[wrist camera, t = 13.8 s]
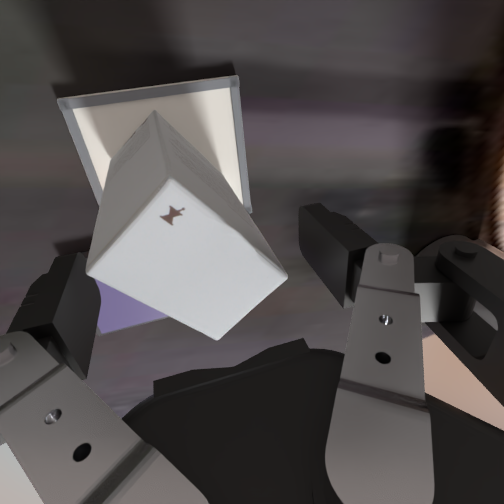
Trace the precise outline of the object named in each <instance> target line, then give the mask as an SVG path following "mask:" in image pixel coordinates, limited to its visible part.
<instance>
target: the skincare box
mask: <svg viewBox="0 0 504 504" xmlns="http://www.w3.org/2000/svg"><path fill="white" fill-rule="evenodd" d="M85 270H86V274H87V275H88V276H90V277H92V278H95V279H97V280H99V281H101V282H103V283H104V284H106V285H108V286H110V287H112V288H114V289H116V290H118V291H120V292H122V293H124V294H126V295H128V296H130V297H132V298H134V299H136V300H138V301H140V302H142V303H144V304H146V305H148V306H150V307H152V308H154V309H156V310H158V311H160V312H162V313H164V314H166V315H168V316H170V317H172V318H174V319H176V320H178V321H180V322H182V323H184V324H186V325H188V326H190V327H192V328H194V329H196V330H198V331H200V332H202V333H203V334H205V335H207V336H209V337H211V338H213V339H214V340H219V339H220V338H221V337H222V336H223V335H224V334H225V333H227V332H228V331H229V330H230V329H231V328H232V327H233V326H234V325H235V324H236V323H238V322H239V321H240V320H241V319H242V318H243V317H244V316H245V315H246V314H247V313H249V312H250V311H251V310H252V309H253V308H254V307H255V306H256V305H257V304H259V303H260V302H261V301H262V300H263V299H264V298H265V297H267V296H268V295H269V294H270V293H271V292H272V291H274V290H275V289H276V288H277V287H278V286H279V285H281V284H282V283H283V282H284V281H285V280H287V278H288V275H287V273H286V271H285V270H284V268H283V267H282V265H281V264H280V262H279V260H278V259H277V257H276V256H275V254H274V253H273V251H272V250H271V248H270V246H269V245H268V243H267V242H266V240H265V239H264V237H263V235H262V234H261V232H260V231H259V229H258V228H257V226H256V225H255V223H254V222H253V220H252V219H251V217H250V216H249V214H248V212H247V211H246V209H245V208H244V206H243V205H242V203H241V202H240V200H239V199H238V197H237V196H236V194H235V193H234V191H233V190H232V188H231V186H230V185H229V183H228V182H227V180H226V179H225V177H224V176H223V174H222V173H221V172H220V171H219V170H218V169H217V168H216V167H215V166H213V165H212V164H211V163H210V162H209V161H208V160H207V159H206V158H205V157H204V156H203V155H202V154H201V153H200V152H199V151H198V150H197V149H196V148H195V147H194V146H193V145H192V144H191V143H189V142H188V141H187V140H186V139H185V138H184V137H183V136H182V135H181V134H180V133H179V132H178V131H177V130H176V129H175V128H174V127H173V126H172V125H171V124H169V123H168V122H167V121H166V120H165V119H164V118H163V117H162V116H161V115H160V114H159V113H158V112H157V111H156V110H153V111H152V112H151V114H150V115H149V116H148V117H147V118H146V119H145V121H144V122H143V123H142V124H141V125H140V126H139V127H138V128H137V129H136V131H135V132H134V133H133V134H132V135H131V137H130V138H129V139H128V140H127V141H126V143H125V144H124V145H123V146H122V147H121V148H120V150H119V151H118V152H117V153H116V154H115V155H114V156H113V158H112V159H111V160H110V164H109V169H108V172H107V177H106V181H105V186H104V190H103V194H102V199H101V203H100V207H99V212H98V216H97V220H96V224H95V229H94V233H93V238H92V243H91V247H90V251H89V255H88V259H87V263H86V269H85Z"/></svg>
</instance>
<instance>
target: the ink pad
mask: <svg viewBox="0 0 504 504" xmlns="http://www.w3.org/2000/svg"><path fill="white" fill-rule="evenodd" d="M81 253H82V254H83V255H84V257H85V259H86V261H87V259H88V255H89V251H86V252H81ZM94 279H95V278H94ZM95 281H96V283H97V285H98V288H99V290H100V294H101V307H100V312H99V318H98V323H97V328H96V334H97V335H98V336H101V335H105V334H108V333H112V332H116V331H120V330H123V329H127V328H131V327H135V326H138V325H142V324H146V323H149V322H153V321H157V320H161V319H164V318H168V317H170V316H168V315H166V314H164V313H162V312H160V311H158V310H156V309H154V308H152V307H150V306H148V305H146V304H144V303H142V302H140V301H138V300H136V299H134V298H132V297H130V296H128V295H126V294H124V293H122V292H120V291H118V290H116V289H114V288H112V287H110V286H108V285H106V284H104V283H103V282H101V281H99V280H97V279H95Z"/></svg>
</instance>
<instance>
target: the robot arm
mask: <svg viewBox="0 0 504 504" xmlns="http://www.w3.org/2000/svg"><path fill="white" fill-rule="evenodd" d="M299 246H300V250H301V253H302V255H303V256H304V258H305V259H306V260H307V262H308V263H309V264H310V266H311V267H312V268H313V270H314V271H315V272H316V273H317V275H318V276H319V277H320V279H321V280H322V281H323V283H324V284H325V285H326V286H327V288H328V289H329V290H330V292H331V293H332V294H333V296H334V297H335V298H336V299H337V301H338V302H339V303H340V305H341V306H342V307H343V309H345V308H348V307H352V306H354V308H353V314H352V319H351V324H350V329H349V335H348V340H347V345H346V350H345V354H343V353H340V352H336V351H332V350H326V349H309V347H308V346H307V344H306V342H305V340H304V338H302V339H298V340H295V341H291V342H288V343H284V344H281V345H277V346H274V347H270V348H268V349H266V350H264V351H262V352H260V353H259V354H257V355H255V356H253V357H251V358H249V359H248V360H246V361H244V362H242V363H240V364H239V365H236V366H234V367H227V368H212V369H197V370H190V371H187V372H183V373H180V374H176V375H173V376H169V377H166V378H162V379H159V380H155V381H153V383H154V394H153V395H151V396H150V397H148V398H146V399H145V400H143V401H142V402H140V403H139V404H138V405H136V406H135V407H134V408H133V409H131V410H130V411H129V412H128V413H127V414H126V415H125V416H124V417H123V418H122V419H121V418H120V417H119V416H118V415H117V414H116V413H115V412H114V411H113V410H112V409H111V408H110V407H108V406H107V405H106V404H105V403H104V402H103V401H102V400H101V399H100V398H99V397H98V396H97V395H96V394H95V393H94V392H93V391H92V390H91V389H90V388H89V387H88V386H87V385H86V384H85V383H84V382H83V381H82V380H84V379H87V374H88V369H89V364H90V359H91V354H92V348H93V343H94V338H95V333H96V328H97V323H98V318H99V312H100V307H101V294H100V290H99V288H98V285H97V283H96V281H95V279H94V278H92V277H90V276H88V275H87V274H86V270H85V269H86V263H87V261H86V259H85V257H84V255H83V254H82V253H81V252H78V253H73V254H68V255H63V256H58V257H56V258H55V259H54V261H53V264H52V266H51V268H50V270H49V272H48V273H47V274H42V275H41V276H40V277H39V278H38V279H37V280H36V281H35V282H34V283H33V284H32V285H31V286H30V288H29V290H28V292H27V294H26V298H24V300H23V302H22V304H21V307H20V308H19V310H18V311H17V313H16V315H15V317H14V319H13V321H12V323H11V325H10V327H9V329H8V331H7V333H6V334H4V335H2V336H0V445H2V444H4V443H7V444H8V446H9V448H10V449H11V451H12V452H13V454H14V456H15V457H16V459H17V460H18V462H19V464H20V465H21V467H22V469H23V470H24V472H25V473H26V475H27V477H28V478H29V480H30V482H31V483H32V485H33V486H34V488H35V490H36V491H37V493H38V494H39V496H40V498H41V499H42V501H43V503H44V504H504V431H503V430H501V429H499V428H497V427H495V426H493V425H491V424H489V423H487V422H485V421H482V420H480V419H478V418H476V417H474V416H472V415H470V414H468V413H466V412H464V411H462V410H460V409H458V408H456V407H454V406H452V405H450V404H448V403H445V402H443V401H441V400H439V399H437V398H435V397H433V396H431V395H429V394H427V393H425V389H424V368H423V349H422V348H423V347H422V327H421V322H425V323H426V324H427V325H428V327H429V328H430V329H431V330H432V331H433V332H434V333H435V334H436V335H437V336H438V337H439V338H440V339H441V340H442V341H443V343H444V344H445V345H446V346H447V347H448V348H449V349H450V350H451V351H452V352H453V353H454V354H455V355H456V356H457V357H458V358H459V360H460V361H461V362H462V363H463V364H464V365H465V366H466V367H467V368H468V369H469V370H470V371H471V372H472V374H473V375H474V376H475V377H476V378H477V379H478V380H479V381H480V382H481V383H482V384H483V385H484V386H485V387H486V389H488V391H489V392H490V393H491V394H492V395H493V396H494V397H495V398H496V399H497V400H498V401H499V402H500V403H501V405H503V406H504V252H502V251H500V250H498V249H496V248H494V247H493V246H491V245H489V244H487V243H485V242H484V241H482V240H480V239H477V240H471V239H469V238H467V237H466V236H462V235H451V236H447V237H443V238H441V239H439V240H437V241H435V242H433V243H432V244H430V245H428V246H427V247H426V248H424V249H423V250H422V251H421V252H420V253H419V254H418V255H417V256H416V257H413V255H412V253H411V252H410V251H409V250H408V249H406V248H404V247H402V246H399V245H395V244H390V243H380V244H379V243H378V242H376V241H375V240H374V239H373V238H371V237H370V236H369V235H368V234H367V233H365V232H364V231H363V230H362V229H360V228H359V227H358V226H357V225H356V224H353V222H352V221H351V220H349V219H348V218H347V217H346V216H343V215H341V214H338V213H336V212H330V211H329V210H328V209H326V208H325V207H324V206H323V205H322V204H320V203H314V204H310V205H305V206H301V207H300V208H299Z"/></svg>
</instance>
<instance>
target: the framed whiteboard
mask: <svg viewBox="0 0 504 504" xmlns="http://www.w3.org/2000/svg"><path fill="white" fill-rule="evenodd" d="M239 86H240V85H239V77H238V75H233V76H225V77H218V78H210V79H202V80H194V81H187V82H179V83H171V84H164V85H156V86H148V87H140V88H133V89H125V90H117V91H110V92H102V93H94V94H86V95H79V96H71V97H63V98H58V99H57V102H58V105H59V108H60V110H61V111H62V113H63V115H64V118H65V120H66V123H67V125H68V128H69V131H70V133H71V136H72V138H73V141H74V143H75V146H76V148H77V151H78V154H79V156H80V159H81V161H82V164H83V166H84V169H85V171H86V174H87V176H88V179H89V182H90V184H91V187H92V189H93V192H94V194H95V197H96V199H97V202H98V205H99V207H100V203H101V199H102V194H103V190H104V186H105V181H106V177H107V172H108V169H109V164H110V160H111V159H112V158H113V156H114V155H115V154H116V153H117V152H118V151H119V150H120V148H121V147H122V146H123V145H124V144H125V143H126V141H127V140H128V139H129V138H130V137H131V135H132V134H133V133H134V132H135V131H136V129H137V128H138V127H139V126H140V125H141V124H142V123H143V122H144V121H145V119H146V118H147V117H148V116H149V115H150V114H151V112H152V111H153V110H156V111H157V112H158V113H159V114H160V115H161V116H162V117H163V118H164V119H165V120H166V121H167V122H168V123H169V124H171V125H172V126H173V127H174V128H175V129H176V130H177V131H178V132H179V133H180V134H181V135H182V136H183V137H184V138H185V139H186V140H187V141H188V142H189V143H191V144H192V145H193V146H194V147H195V148H196V149H197V150H198V151H199V152H200V153H201V154H202V155H203V156H204V157H205V158H206V159H207V160H208V161H209V162H210V163H211V164H212V165H213V166H215V167H216V168H217V169H218V170H219V171H220V172H221V173H222V174H223V176H224V177H225V179H226V180H227V182H228V183H229V185H230V186H231V188H232V190H233V191H234V193H235V194H236V196H237V197H238V199H239V200H240V202H241V203H242V205H243V206H244V208H245V209H246V211H247V212H248V214H249V213H252V206H251V202H250V192H249V182H248V173H247V163H246V153H245V143H244V133H243V123H242V113H241V103H240V93H239Z"/></svg>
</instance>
